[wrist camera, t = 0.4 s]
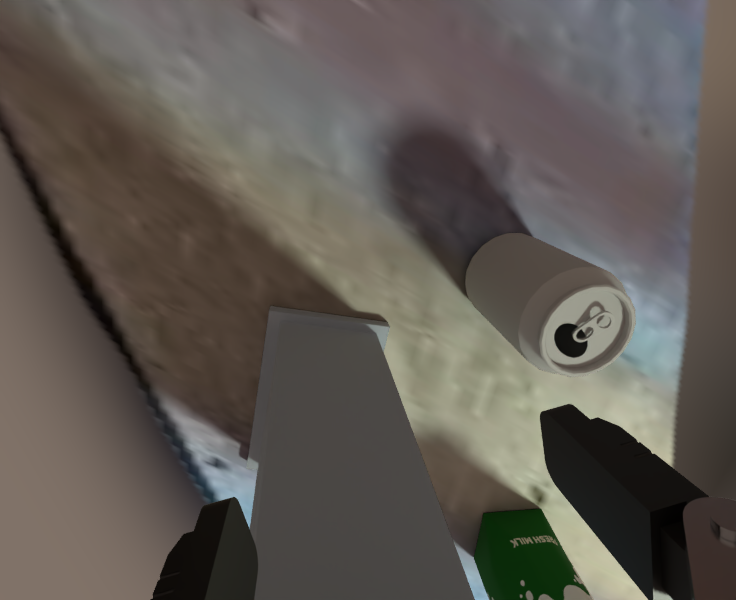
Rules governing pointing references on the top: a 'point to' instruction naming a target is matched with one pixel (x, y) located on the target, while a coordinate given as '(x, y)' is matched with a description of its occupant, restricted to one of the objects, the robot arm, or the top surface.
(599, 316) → the can
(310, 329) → the stand
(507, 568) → the milk carton
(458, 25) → the top surface
